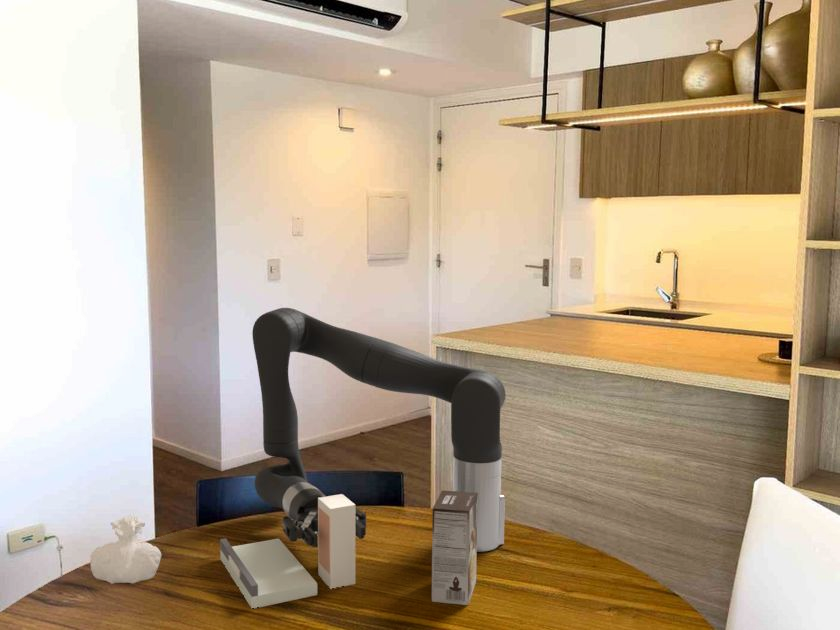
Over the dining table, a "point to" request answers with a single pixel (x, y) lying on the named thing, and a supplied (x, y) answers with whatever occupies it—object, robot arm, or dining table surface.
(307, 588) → the shelf board
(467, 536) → the coffee box
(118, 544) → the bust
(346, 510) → the carton
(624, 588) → the dining table surface
